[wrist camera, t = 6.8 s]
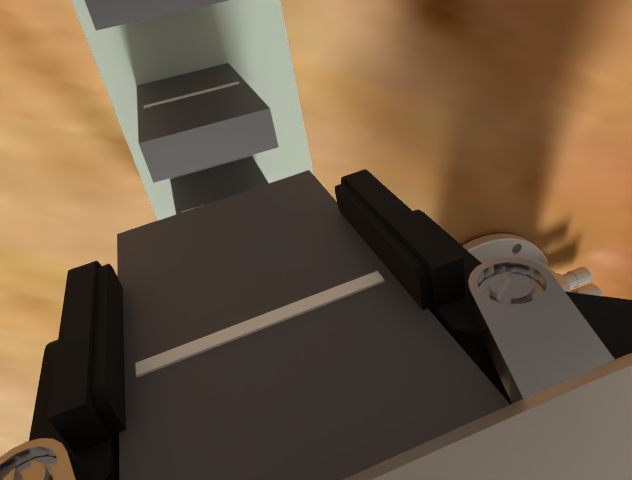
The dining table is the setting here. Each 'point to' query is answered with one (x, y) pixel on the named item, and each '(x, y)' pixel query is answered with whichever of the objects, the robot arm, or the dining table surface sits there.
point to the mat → (196, 54)
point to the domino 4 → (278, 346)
